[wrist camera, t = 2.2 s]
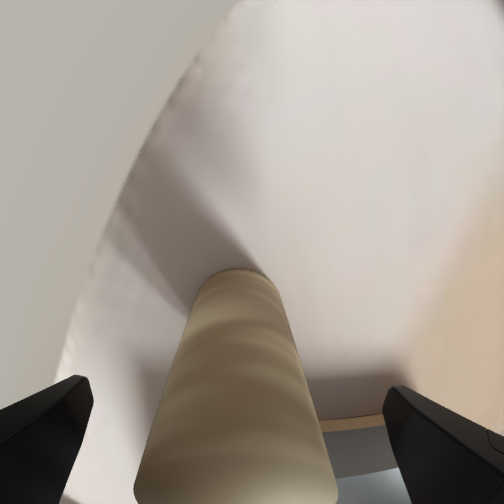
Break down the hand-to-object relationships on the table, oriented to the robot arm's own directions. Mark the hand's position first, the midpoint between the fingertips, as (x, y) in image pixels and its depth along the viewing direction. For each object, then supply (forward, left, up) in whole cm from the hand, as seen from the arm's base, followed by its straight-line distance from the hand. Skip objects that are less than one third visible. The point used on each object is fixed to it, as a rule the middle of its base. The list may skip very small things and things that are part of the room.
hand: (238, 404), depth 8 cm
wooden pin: (0, 0, -6) cm, 6 cm away
